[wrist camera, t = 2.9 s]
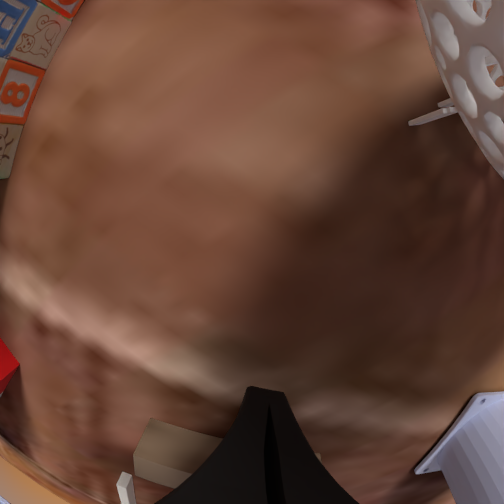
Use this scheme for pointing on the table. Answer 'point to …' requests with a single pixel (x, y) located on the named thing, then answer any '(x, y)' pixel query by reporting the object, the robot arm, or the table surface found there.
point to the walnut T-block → (172, 453)
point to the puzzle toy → (6, 366)
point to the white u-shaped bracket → (126, 489)
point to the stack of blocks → (26, 61)
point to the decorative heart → (469, 68)
